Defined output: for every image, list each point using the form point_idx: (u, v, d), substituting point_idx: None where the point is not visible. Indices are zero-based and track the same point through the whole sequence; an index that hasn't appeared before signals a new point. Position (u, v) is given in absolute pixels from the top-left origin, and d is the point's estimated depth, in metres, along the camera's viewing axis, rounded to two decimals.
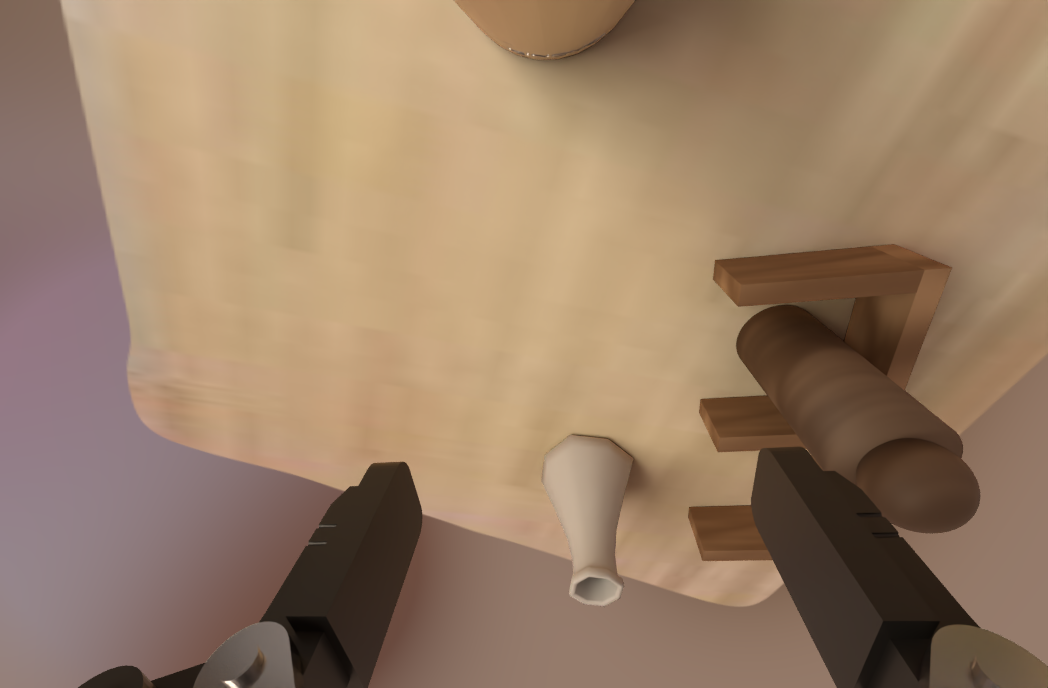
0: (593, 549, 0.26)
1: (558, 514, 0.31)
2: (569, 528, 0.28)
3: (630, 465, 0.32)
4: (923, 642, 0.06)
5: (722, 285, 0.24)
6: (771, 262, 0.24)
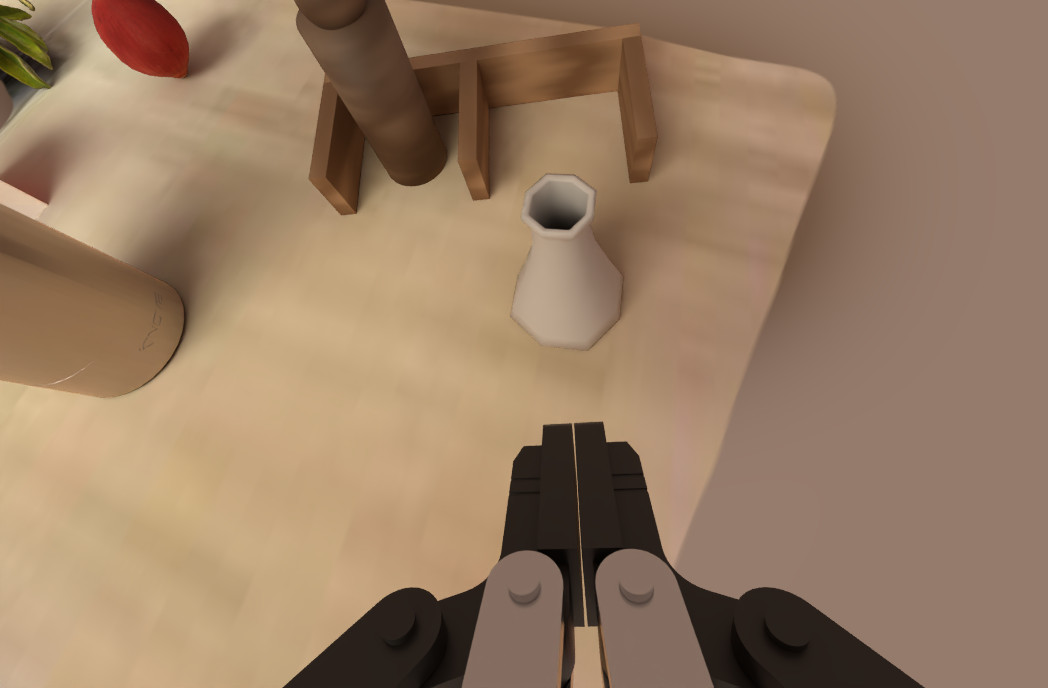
0: None
1: (573, 305, 0.23)
2: (550, 276, 0.21)
3: None
4: None
5: (342, 200, 0.30)
6: None
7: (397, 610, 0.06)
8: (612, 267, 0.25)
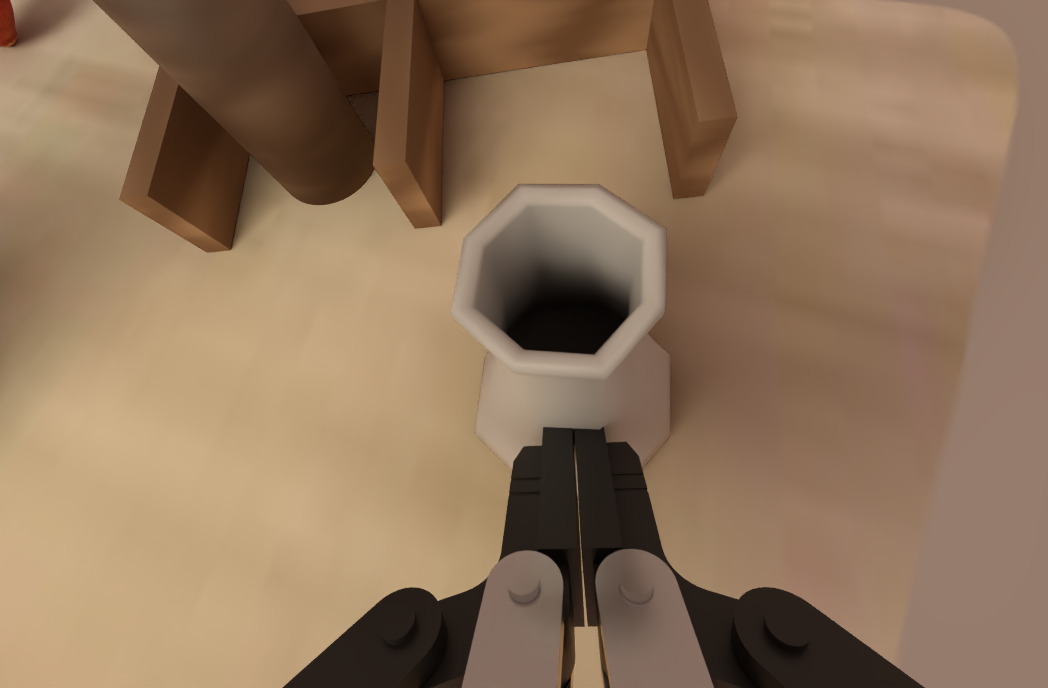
0: None
1: None
2: (544, 412, 0.09)
3: (533, 305, 0.16)
4: None
5: (197, 232, 0.18)
6: None
7: (398, 610, 0.06)
8: (659, 352, 0.13)
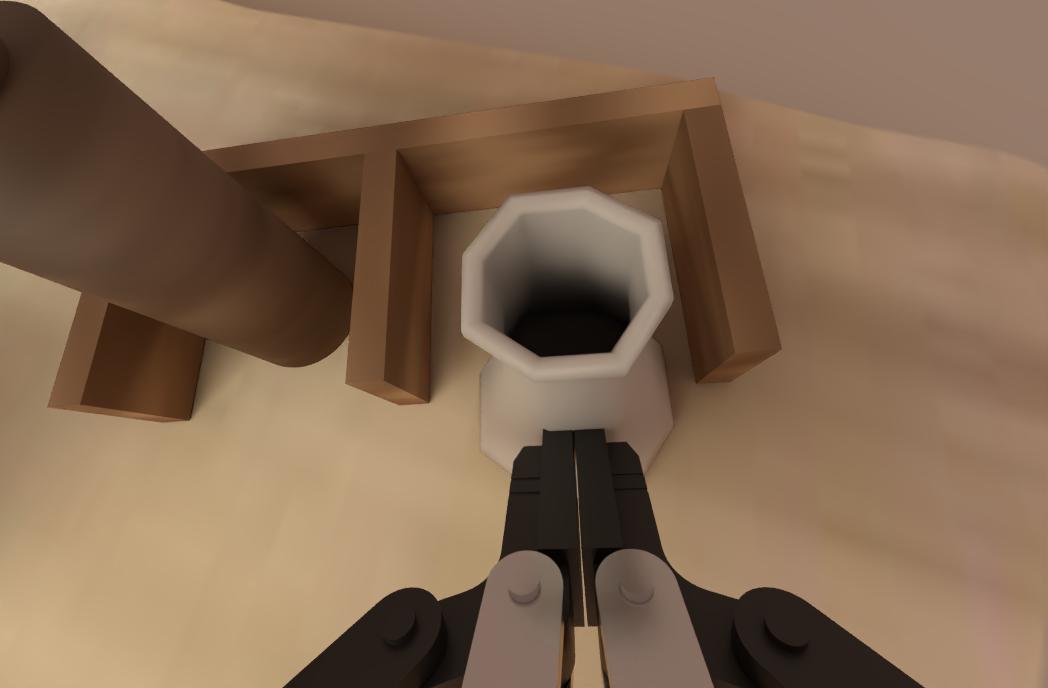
0: None
1: None
2: (555, 419, 0.09)
3: None
4: None
5: (147, 415, 0.16)
6: None
7: (398, 609, 0.06)
8: (653, 345, 0.13)
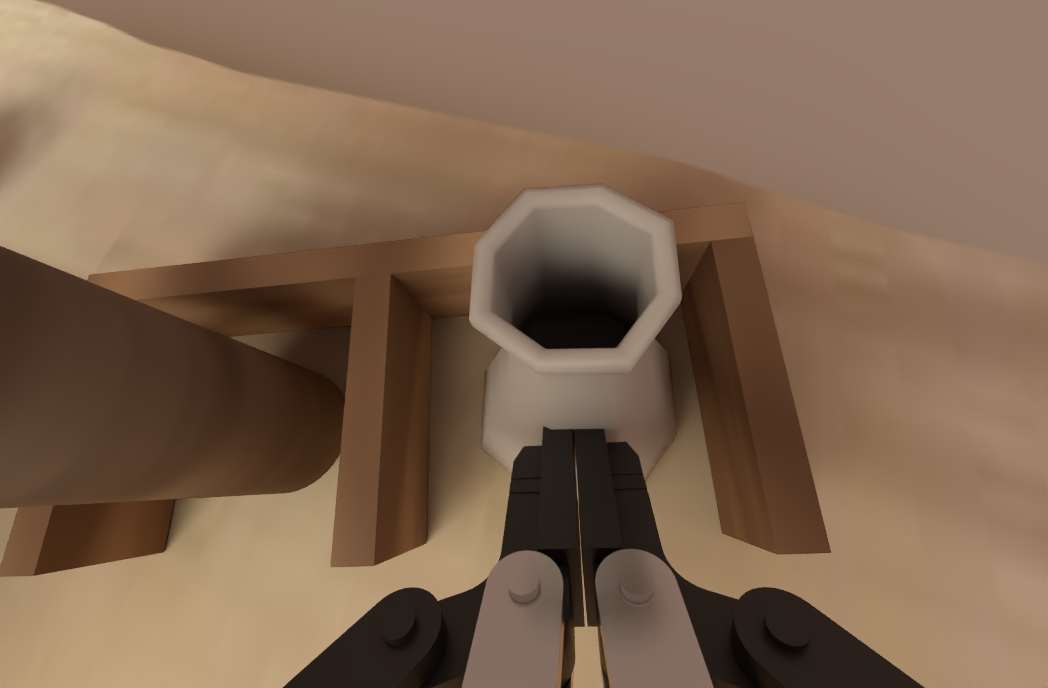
0: None
1: None
2: (558, 416, 0.09)
3: None
4: None
5: None
6: None
7: (398, 609, 0.06)
8: (660, 350, 0.13)
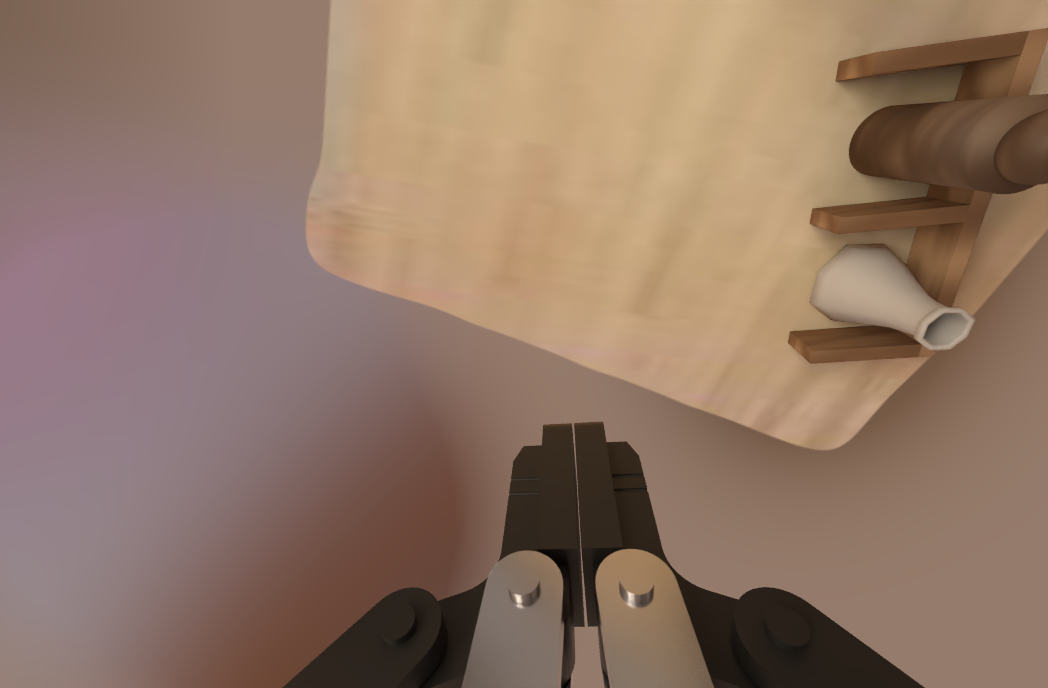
0: (928, 303, 0.29)
1: (854, 309, 0.34)
2: (884, 304, 0.32)
3: (906, 266, 0.35)
4: None
5: (849, 75, 0.29)
6: None
7: (398, 610, 0.06)
8: None
